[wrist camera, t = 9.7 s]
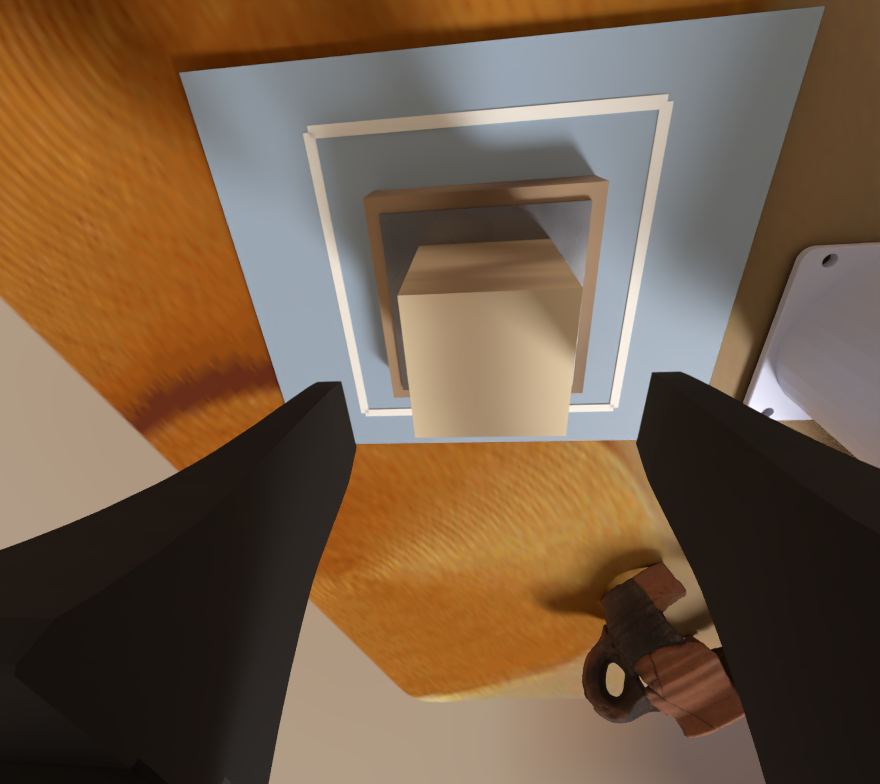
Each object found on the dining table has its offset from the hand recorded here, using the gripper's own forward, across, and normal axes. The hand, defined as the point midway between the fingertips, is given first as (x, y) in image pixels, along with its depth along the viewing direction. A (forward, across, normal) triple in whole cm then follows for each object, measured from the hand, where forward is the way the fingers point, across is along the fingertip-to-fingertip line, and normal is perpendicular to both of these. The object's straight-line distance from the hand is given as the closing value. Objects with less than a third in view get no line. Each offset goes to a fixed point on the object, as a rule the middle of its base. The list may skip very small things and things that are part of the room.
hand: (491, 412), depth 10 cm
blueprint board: (+9, 0, 0) cm, 9 cm away
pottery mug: (+10, -11, +24) cm, 28 cm away
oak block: (+7, 0, 0) cm, 7 cm away
